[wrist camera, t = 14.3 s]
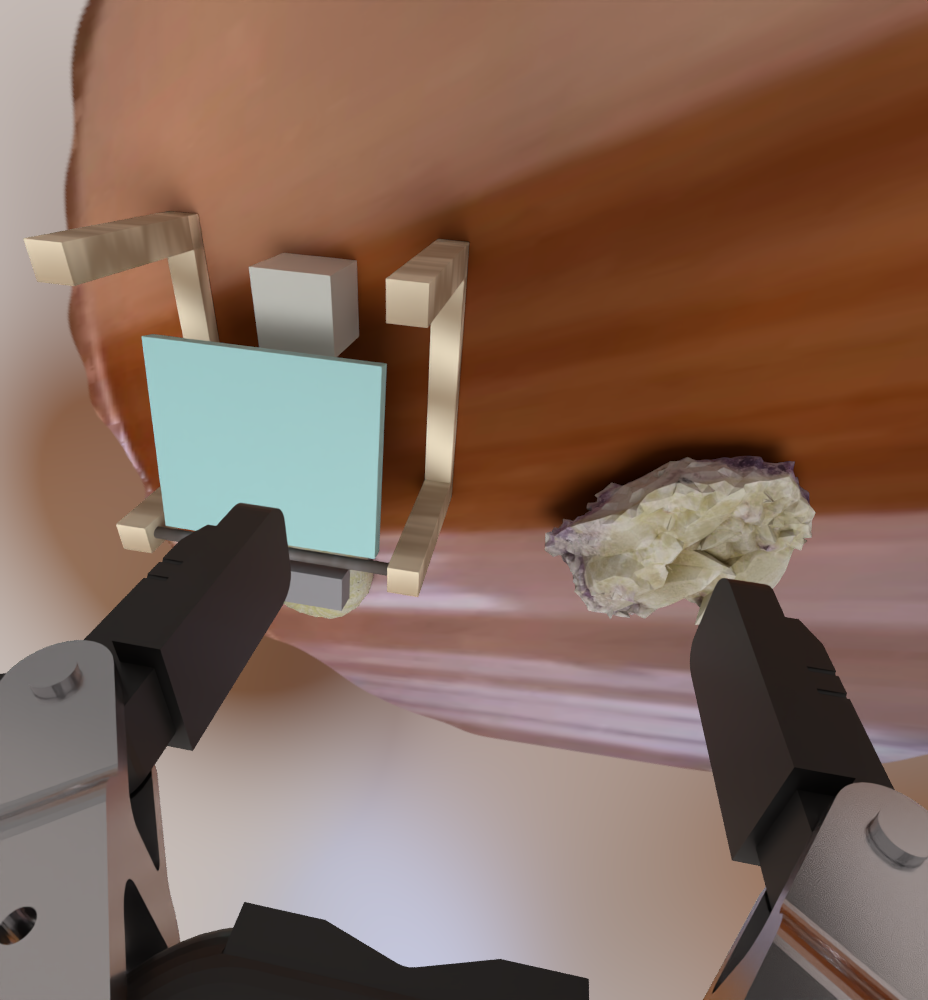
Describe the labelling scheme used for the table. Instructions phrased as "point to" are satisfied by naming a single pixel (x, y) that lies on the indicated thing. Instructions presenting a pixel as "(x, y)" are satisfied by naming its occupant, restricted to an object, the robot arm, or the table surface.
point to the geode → (684, 534)
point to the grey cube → (305, 303)
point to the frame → (177, 236)
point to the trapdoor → (272, 447)
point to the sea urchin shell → (358, 591)
